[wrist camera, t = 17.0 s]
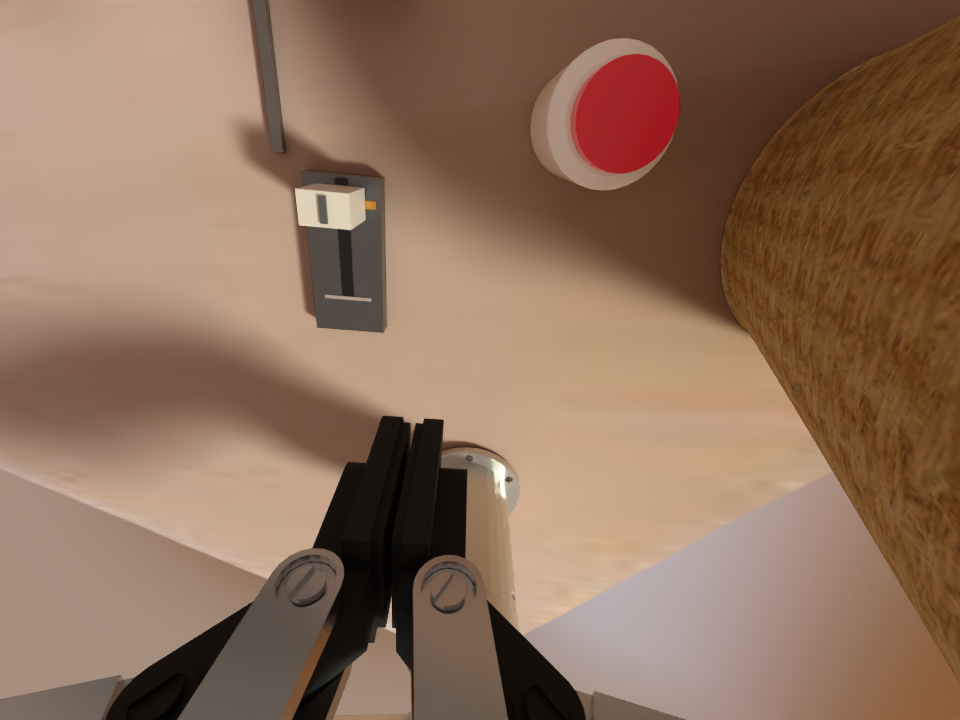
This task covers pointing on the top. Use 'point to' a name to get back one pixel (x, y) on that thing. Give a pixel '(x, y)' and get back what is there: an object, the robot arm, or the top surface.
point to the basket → (869, 300)
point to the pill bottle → (607, 115)
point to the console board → (350, 261)
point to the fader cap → (330, 206)
